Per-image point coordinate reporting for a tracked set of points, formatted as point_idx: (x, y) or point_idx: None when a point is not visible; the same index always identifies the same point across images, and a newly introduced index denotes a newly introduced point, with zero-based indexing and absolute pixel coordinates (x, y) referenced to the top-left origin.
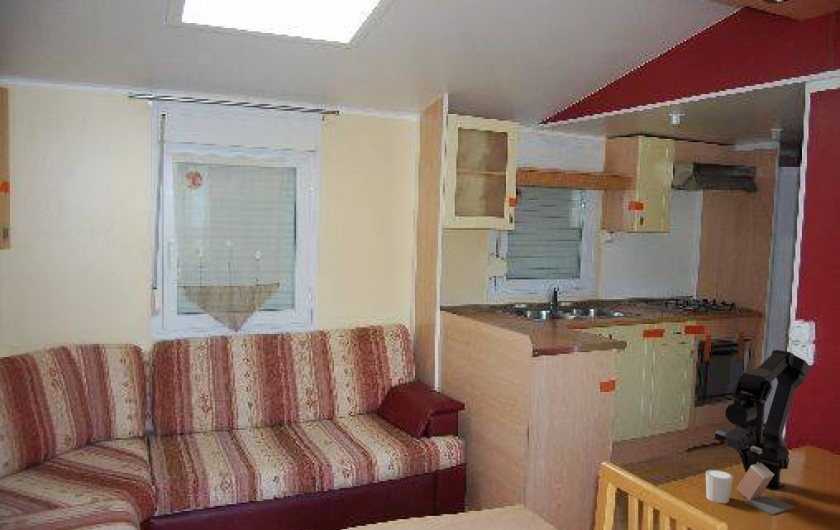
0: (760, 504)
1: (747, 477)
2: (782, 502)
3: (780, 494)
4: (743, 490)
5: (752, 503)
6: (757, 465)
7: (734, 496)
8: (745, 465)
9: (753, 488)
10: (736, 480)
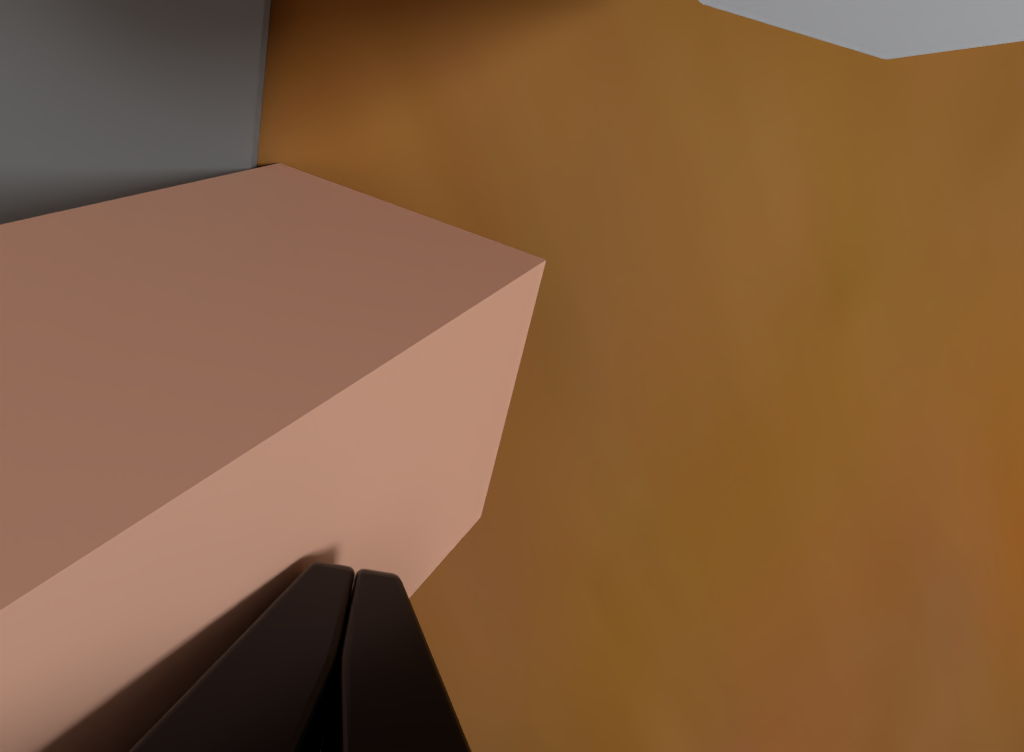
0: (25, 100)
1: (238, 365)
2: None
3: None
4: (387, 238)
5: (130, 16)
6: None
7: (531, 138)
8: (363, 733)
9: (112, 234)
10: (727, 716)
